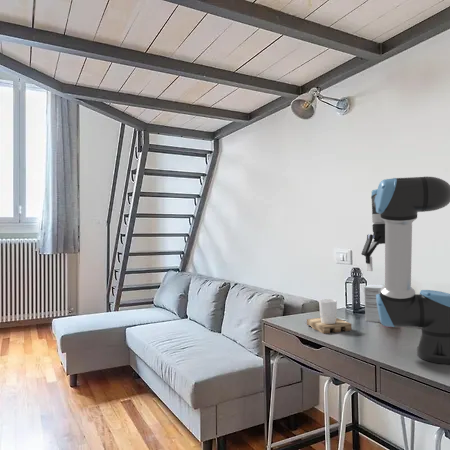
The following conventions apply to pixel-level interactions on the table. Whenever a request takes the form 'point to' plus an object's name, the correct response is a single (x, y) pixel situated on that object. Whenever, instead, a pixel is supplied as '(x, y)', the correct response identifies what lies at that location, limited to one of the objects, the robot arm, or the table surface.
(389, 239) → the robot arm
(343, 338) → the table surface
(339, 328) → the pallet dock
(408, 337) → the table surface
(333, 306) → the white cup
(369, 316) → the supplement box
